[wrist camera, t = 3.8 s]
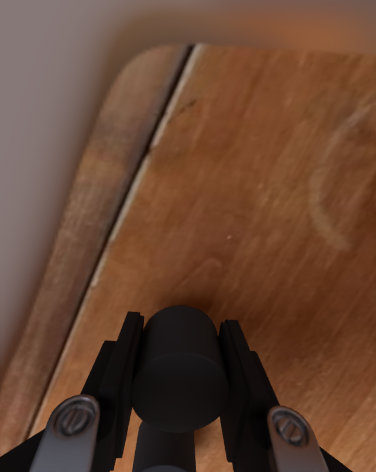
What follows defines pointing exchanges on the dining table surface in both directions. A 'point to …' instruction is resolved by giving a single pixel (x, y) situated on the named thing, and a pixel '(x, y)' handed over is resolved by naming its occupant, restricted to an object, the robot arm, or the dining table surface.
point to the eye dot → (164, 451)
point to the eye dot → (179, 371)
